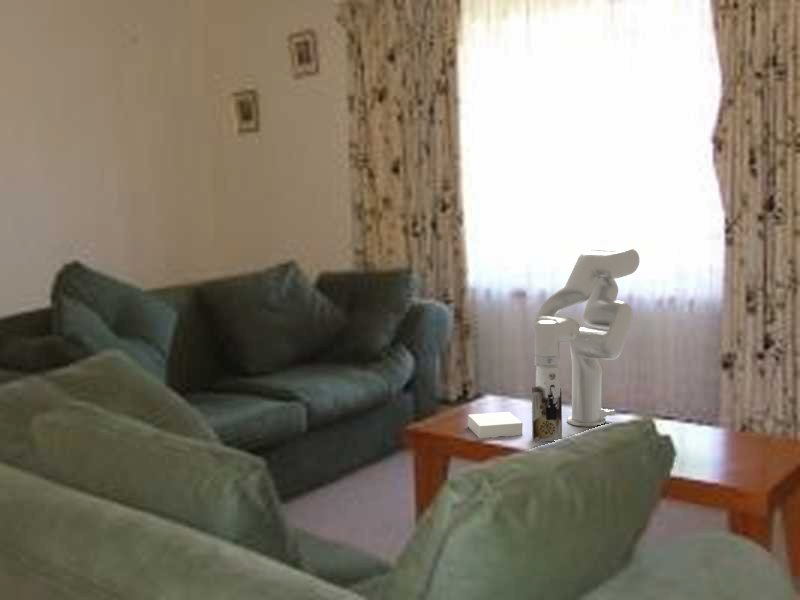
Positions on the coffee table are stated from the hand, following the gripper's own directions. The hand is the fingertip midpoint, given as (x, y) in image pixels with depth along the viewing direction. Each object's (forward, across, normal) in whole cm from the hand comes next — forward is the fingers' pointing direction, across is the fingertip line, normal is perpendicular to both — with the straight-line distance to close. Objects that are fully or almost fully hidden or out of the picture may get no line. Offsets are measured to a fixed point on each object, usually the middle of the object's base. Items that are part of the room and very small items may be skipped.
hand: (546, 415), depth 300 cm
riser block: (+7, +13, +13) cm, 20 cm away
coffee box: (+8, 0, 0) cm, 8 cm away
